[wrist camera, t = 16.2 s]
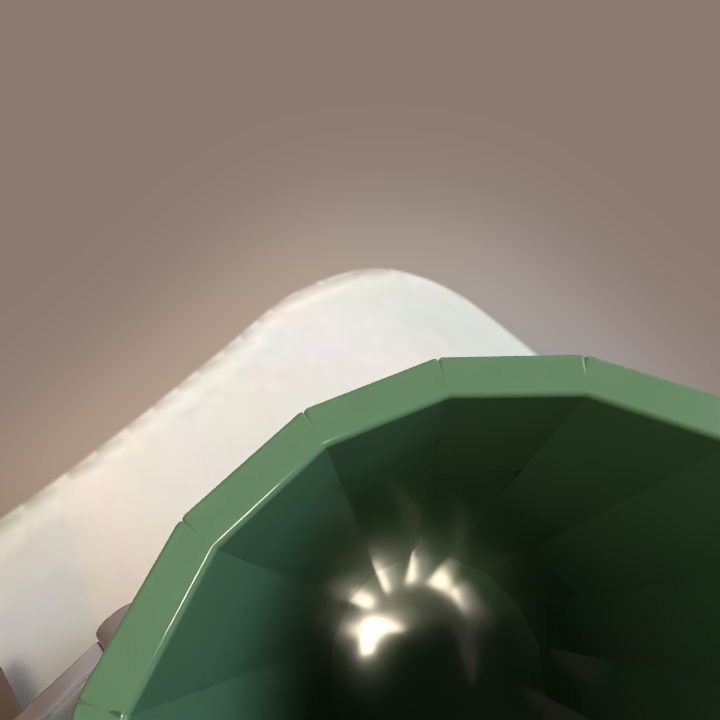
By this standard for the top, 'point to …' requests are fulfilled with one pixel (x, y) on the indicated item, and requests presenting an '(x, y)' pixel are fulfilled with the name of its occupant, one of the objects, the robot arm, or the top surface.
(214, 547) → the green cup
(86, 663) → the drawer
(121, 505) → the top surface
